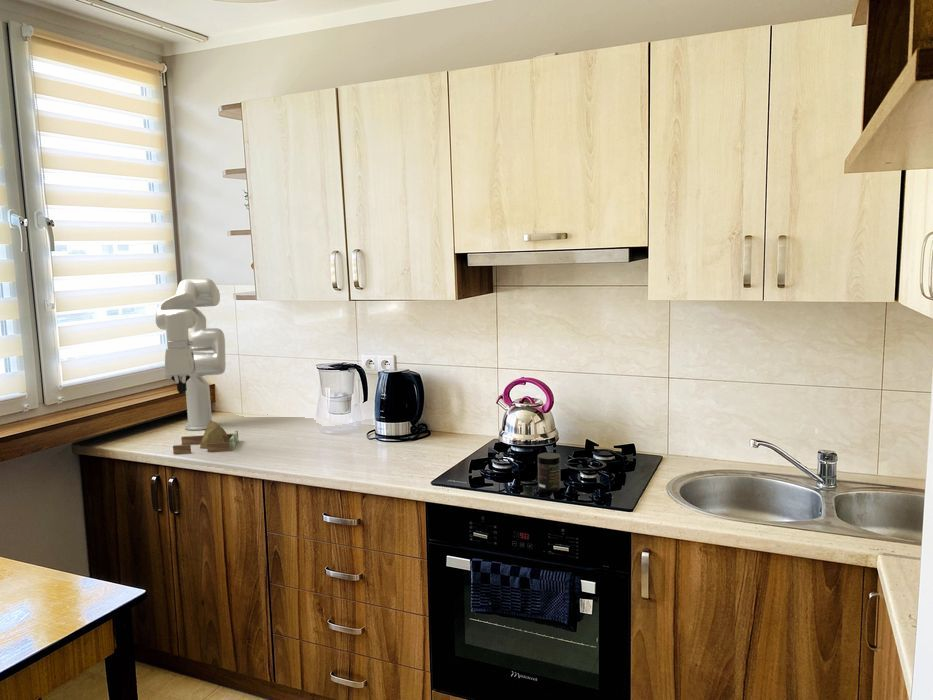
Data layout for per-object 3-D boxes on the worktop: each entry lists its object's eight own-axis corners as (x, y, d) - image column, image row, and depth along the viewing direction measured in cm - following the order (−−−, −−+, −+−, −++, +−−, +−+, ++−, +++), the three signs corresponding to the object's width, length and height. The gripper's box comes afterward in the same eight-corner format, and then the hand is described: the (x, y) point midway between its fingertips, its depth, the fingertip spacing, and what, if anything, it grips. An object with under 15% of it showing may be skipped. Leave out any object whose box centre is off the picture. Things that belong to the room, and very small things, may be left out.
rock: (239, 439, 273) (222, 432, 278) (228, 424, 267) (211, 418, 272) (219, 460, 267) (203, 453, 272) (208, 446, 261) (191, 439, 267)
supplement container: (565, 488, 214) (564, 455, 213) (551, 494, 209) (551, 460, 208) (546, 484, 219) (546, 451, 217) (533, 489, 214) (533, 456, 212)
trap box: (186, 440, 282) (185, 430, 281) (240, 436, 285) (240, 427, 284) (173, 454, 262) (172, 443, 261) (232, 450, 265) (231, 439, 265)
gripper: (201, 342, 269) (205, 390, 271) (159, 344, 266) (163, 392, 269) (197, 345, 261) (200, 394, 264) (154, 347, 259) (158, 396, 262)
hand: (182, 393), depth 267 cm, fingers closed
